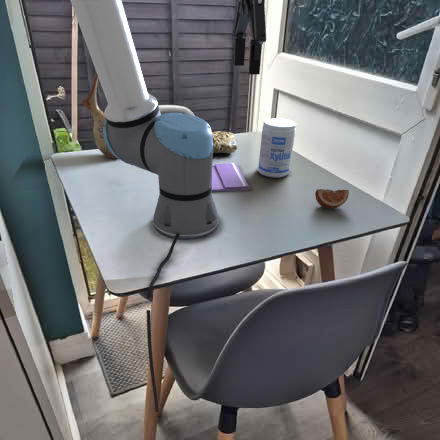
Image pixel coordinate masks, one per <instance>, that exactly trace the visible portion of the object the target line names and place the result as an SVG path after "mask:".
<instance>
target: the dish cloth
mask: <svg viewBox="0 0 440 440" xmlns="http://www.w3.org/2000/svg"><path fill="white" fill-rule="evenodd" d="M232 191H233V192H234V191H235V192H236V191H250V185H249V184H248V181H247V180H246V178H245V176H244V175H243V173H242V171H241V170H240V168H239V166H238V164H237V163H236V162H229V163H214V165H212V193H214V192H232Z"/></svg>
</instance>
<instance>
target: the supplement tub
mask: <svg viewBox="0 0 440 440" xmlns="http://www.w3.org/2000/svg"><path fill="white" fill-rule="evenodd" d="M296 126H297V123H296V122H295V121H294V120H291V119H287V118H280V117H278V118H275V117H274V118H267V119H264V121H263V125H262V129H261V139H260V146H259V147H260V148H259V155H258V156H259V157H258V166H257V170H258V172H259V173H260V174H261V175H262V176H265V177H268V178H275V179H276V178H283V177H286V176H287V175H288V174H289V173H290V169H291V162H292V155H293V150H294V144H295V143H294V142H295V137H296V130H297V129H296Z"/></svg>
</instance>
